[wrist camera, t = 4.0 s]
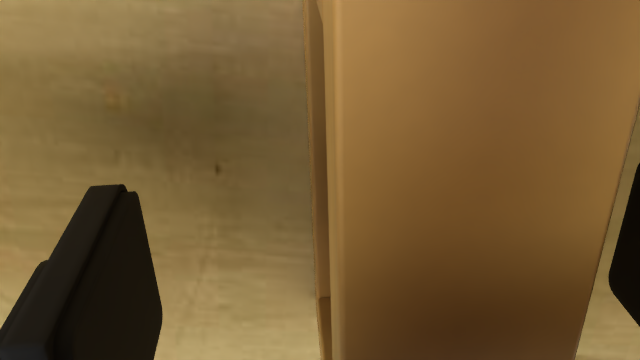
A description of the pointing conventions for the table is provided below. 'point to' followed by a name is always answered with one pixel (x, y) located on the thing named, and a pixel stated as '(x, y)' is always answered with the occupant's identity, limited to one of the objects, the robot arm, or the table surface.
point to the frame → (464, 171)
